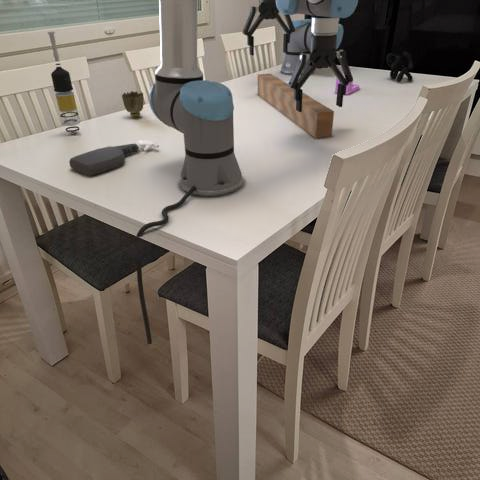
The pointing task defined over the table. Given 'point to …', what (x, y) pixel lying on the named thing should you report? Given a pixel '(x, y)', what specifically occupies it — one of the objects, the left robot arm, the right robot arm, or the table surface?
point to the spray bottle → (106, 157)
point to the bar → (282, 98)
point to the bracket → (347, 87)
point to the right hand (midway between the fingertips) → (268, 53)
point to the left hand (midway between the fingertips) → (319, 108)
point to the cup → (133, 103)
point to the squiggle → (399, 66)
